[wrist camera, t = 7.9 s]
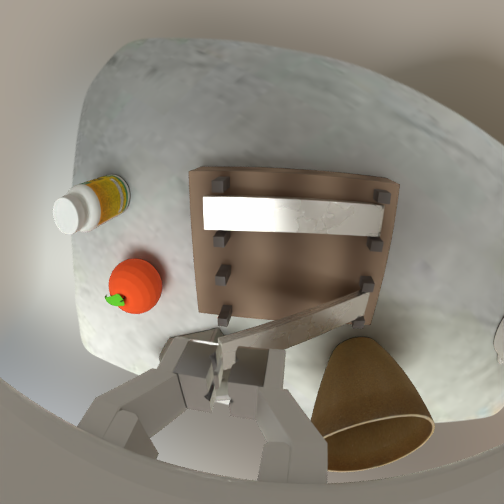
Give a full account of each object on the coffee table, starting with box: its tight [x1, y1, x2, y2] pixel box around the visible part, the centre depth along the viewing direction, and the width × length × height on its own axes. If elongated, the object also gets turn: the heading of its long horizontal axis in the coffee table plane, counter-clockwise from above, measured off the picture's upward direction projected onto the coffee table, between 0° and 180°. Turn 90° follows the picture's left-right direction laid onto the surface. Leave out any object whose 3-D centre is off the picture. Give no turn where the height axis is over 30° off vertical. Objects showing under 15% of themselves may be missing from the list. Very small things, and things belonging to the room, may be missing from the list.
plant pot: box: [311, 337, 435, 472], centre depth 29 cm, size 15×15×16 cm
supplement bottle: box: [53, 175, 130, 235], centre depth 27 cm, size 5×5×10 cm
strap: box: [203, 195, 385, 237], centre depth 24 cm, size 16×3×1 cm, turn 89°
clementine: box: [105, 258, 162, 314], centre depth 32 cm, size 8×7×7 cm
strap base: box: [189, 167, 400, 328], centre depth 28 cm, size 20×16×7 cm
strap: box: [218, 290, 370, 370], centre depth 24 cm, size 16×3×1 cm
